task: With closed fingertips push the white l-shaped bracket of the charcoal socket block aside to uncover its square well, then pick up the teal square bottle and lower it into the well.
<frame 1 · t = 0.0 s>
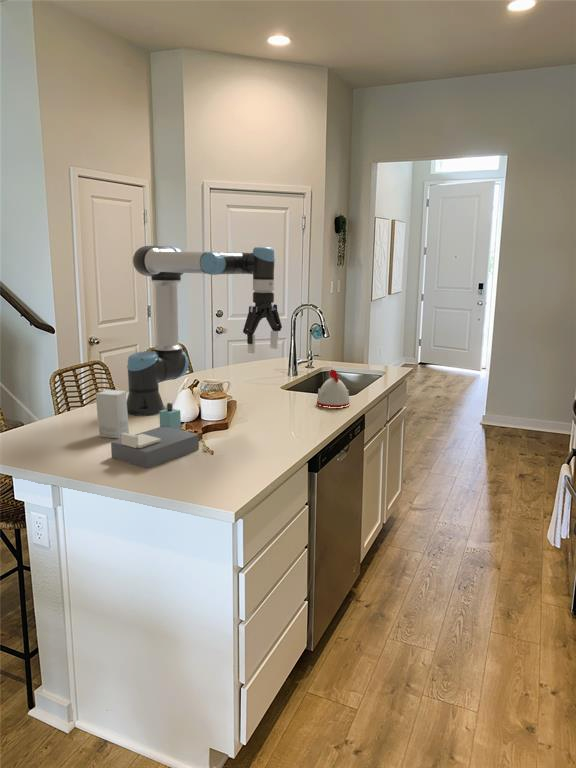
hand: (262, 350, 213), 28 cm above the countertop, fingers open, 13 cm apart
white knitted dome: (333, 405, 251), on the countertop
white l-shaped bracket: (140, 436, 179), point 7 cm above the countertop, slide at 0.0 cm
skincare box: (113, 436, 203), on the countertop
socket block: (156, 453, 186), on the countertop
teal square bottle: (170, 435, 204), on the countertop
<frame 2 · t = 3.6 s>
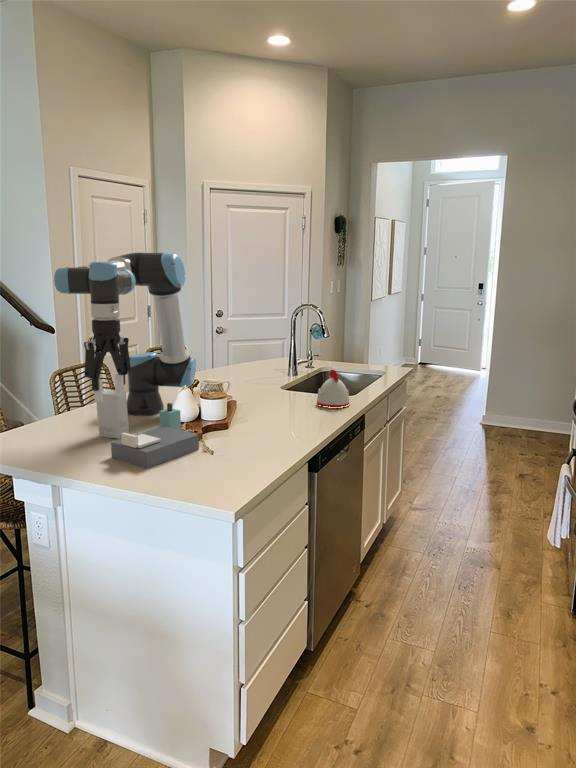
hand: (109, 398, 167), 21 cm above the countertop, fingers open, 7 cm apart
nothing on the countertop moved.
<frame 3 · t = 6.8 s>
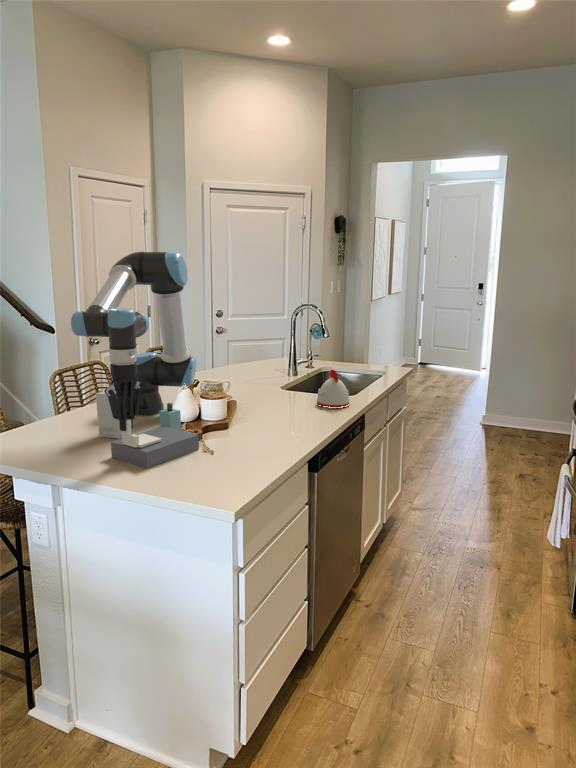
hand: (126, 440, 175), 7 cm above the countertop, fingers closed
white l-shaped bracket: (140, 436, 179), point 7 cm above the countertop, slide at 0.3 cm, touching gripper
everything else where it was.
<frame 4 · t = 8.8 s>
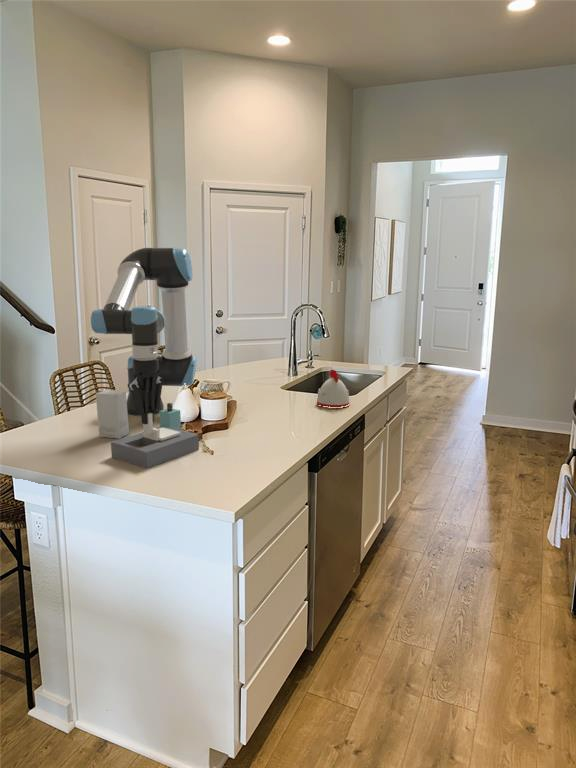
hand: (148, 433, 182), 7 cm above the countertop, fingers closed
white l-shaped bracket: (161, 430, 186), point 7 cm above the countertop, slide at 8.7 cm, touching gripper
everything else where it was.
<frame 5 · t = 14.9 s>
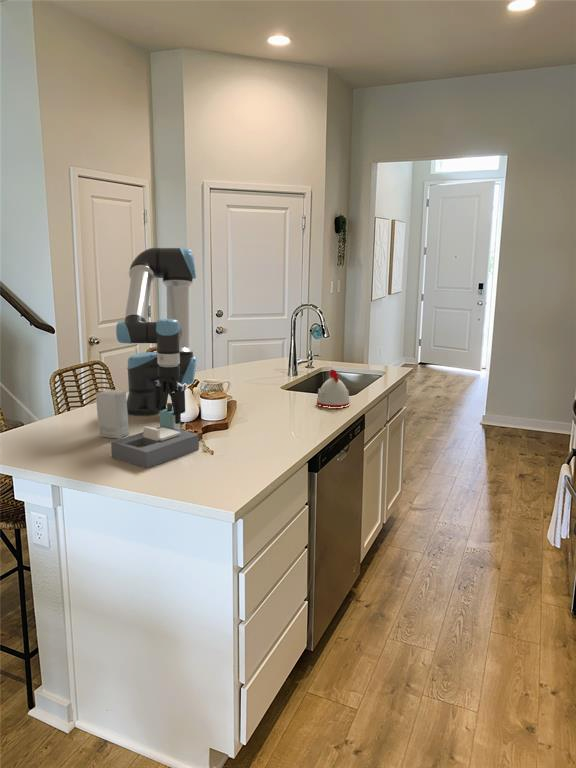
hand: (170, 430, 204), 2 cm above the countertop, fingers closed on teal square bottle, 5 cm apart
white l-shaped bracket: (161, 430, 186), point 7 cm above the countertop, slide at 8.7 cm
teal square bottle: (170, 435, 204), on the countertop, touching gripper
everything else where it was.
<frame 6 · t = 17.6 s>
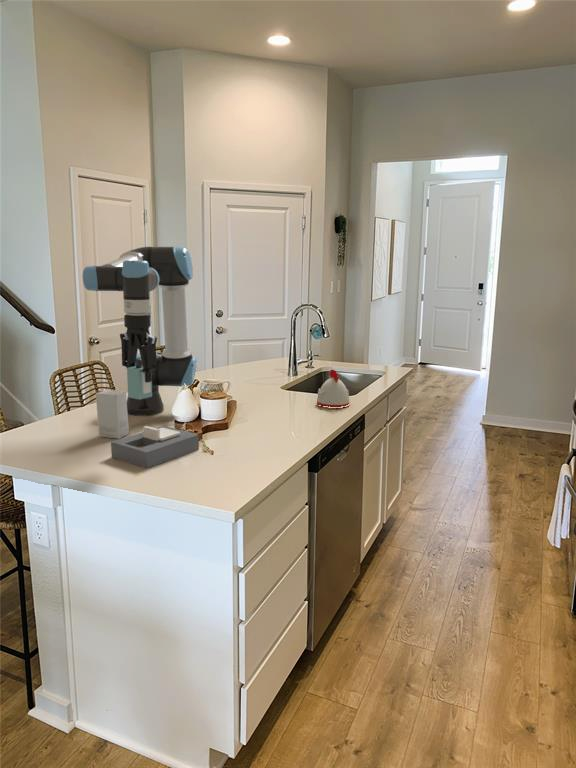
hand: (140, 391, 177), 21 cm above the countertop, fingers closed on teal square bottle, 5 cm apart
teal square bottle: (140, 396, 177), point 19 cm above the countertop, touching gripper
everything else where it was.
when the fingers open (7 cm above the countertop, at t = 20.5 s): teal square bottle drops 3 cm, resting on socket block.
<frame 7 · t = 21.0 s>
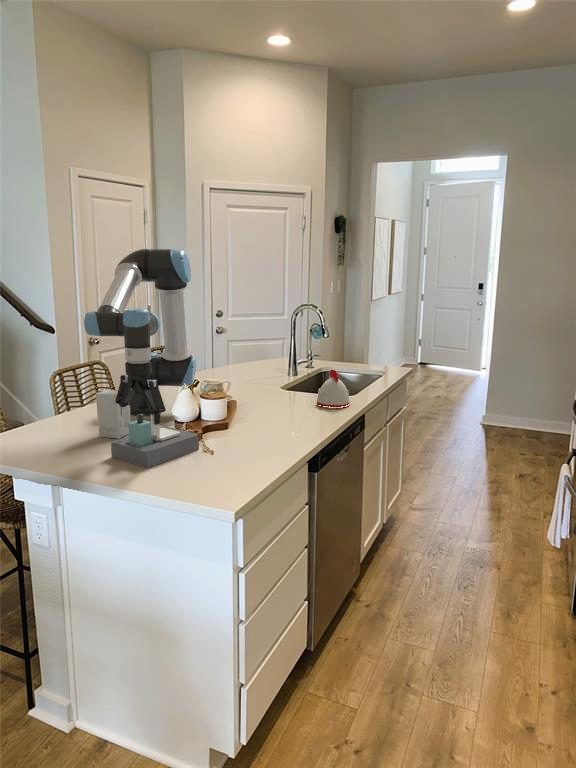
hand: (140, 430, 179), 9 cm above the countertop, fingers open, 12 cm apart
teal square bottle: (141, 450, 180), point 2 cm above the countertop, touching socket block
everything else where it was.
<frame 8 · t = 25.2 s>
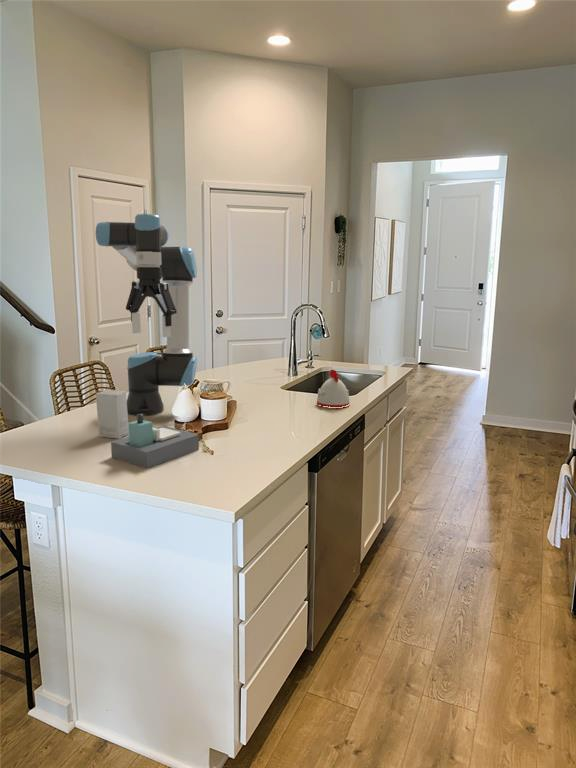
hand: (151, 334, 185), 37 cm above the countertop, fingers open, 13 cm apart
nothing on the countertop moved.
at the end: white l-shaped bracket slide at 8.7 cm; teal square bottle 0.0 cm from the target spot on the socket block, point 2.5 cm above the socket block's base; teal square bottle tilted 0° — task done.
